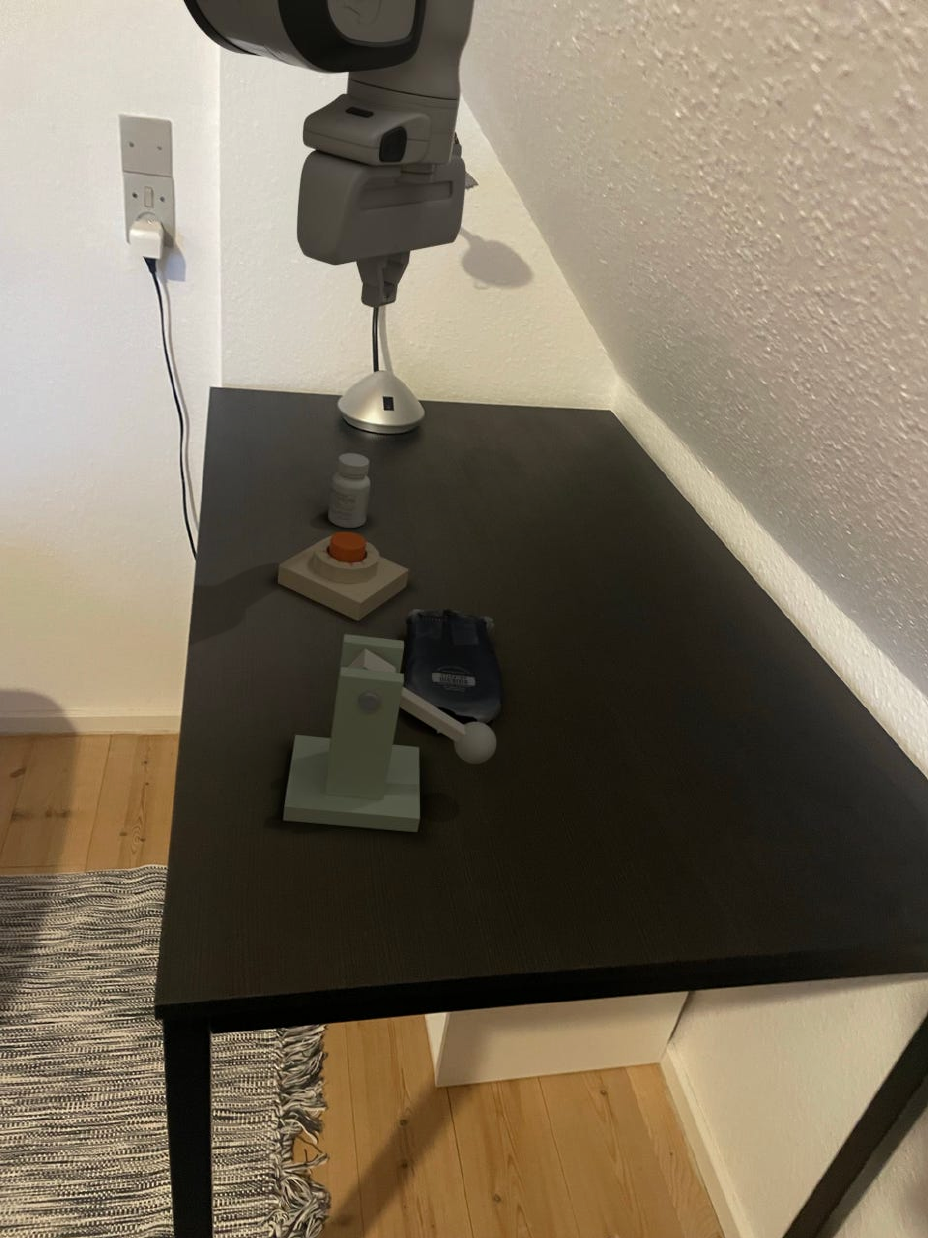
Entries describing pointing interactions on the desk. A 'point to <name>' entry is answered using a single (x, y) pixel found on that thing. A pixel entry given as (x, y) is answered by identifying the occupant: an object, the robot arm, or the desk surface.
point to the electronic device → (453, 664)
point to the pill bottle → (349, 491)
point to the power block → (343, 579)
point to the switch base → (358, 752)
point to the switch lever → (438, 717)
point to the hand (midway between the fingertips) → (378, 303)
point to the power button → (347, 547)
